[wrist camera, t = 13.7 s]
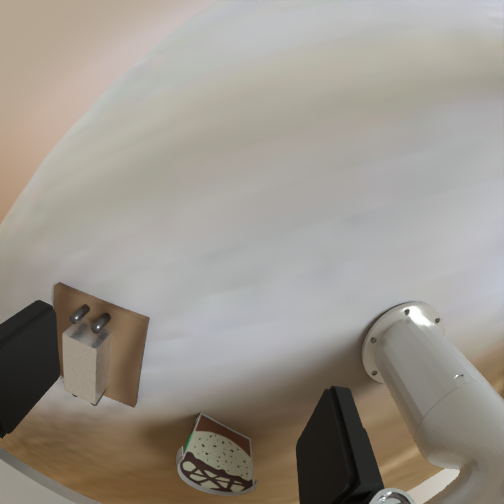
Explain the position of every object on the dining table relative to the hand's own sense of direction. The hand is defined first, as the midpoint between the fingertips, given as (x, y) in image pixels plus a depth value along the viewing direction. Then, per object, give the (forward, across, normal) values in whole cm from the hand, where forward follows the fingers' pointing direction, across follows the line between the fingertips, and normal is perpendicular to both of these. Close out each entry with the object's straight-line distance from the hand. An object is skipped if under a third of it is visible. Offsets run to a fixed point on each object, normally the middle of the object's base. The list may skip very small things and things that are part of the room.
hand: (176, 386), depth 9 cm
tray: (+26, +16, +21) cm, 37 cm away
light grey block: (+24, +16, +21) cm, 36 cm away
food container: (+26, -4, +32) cm, 41 cm away
